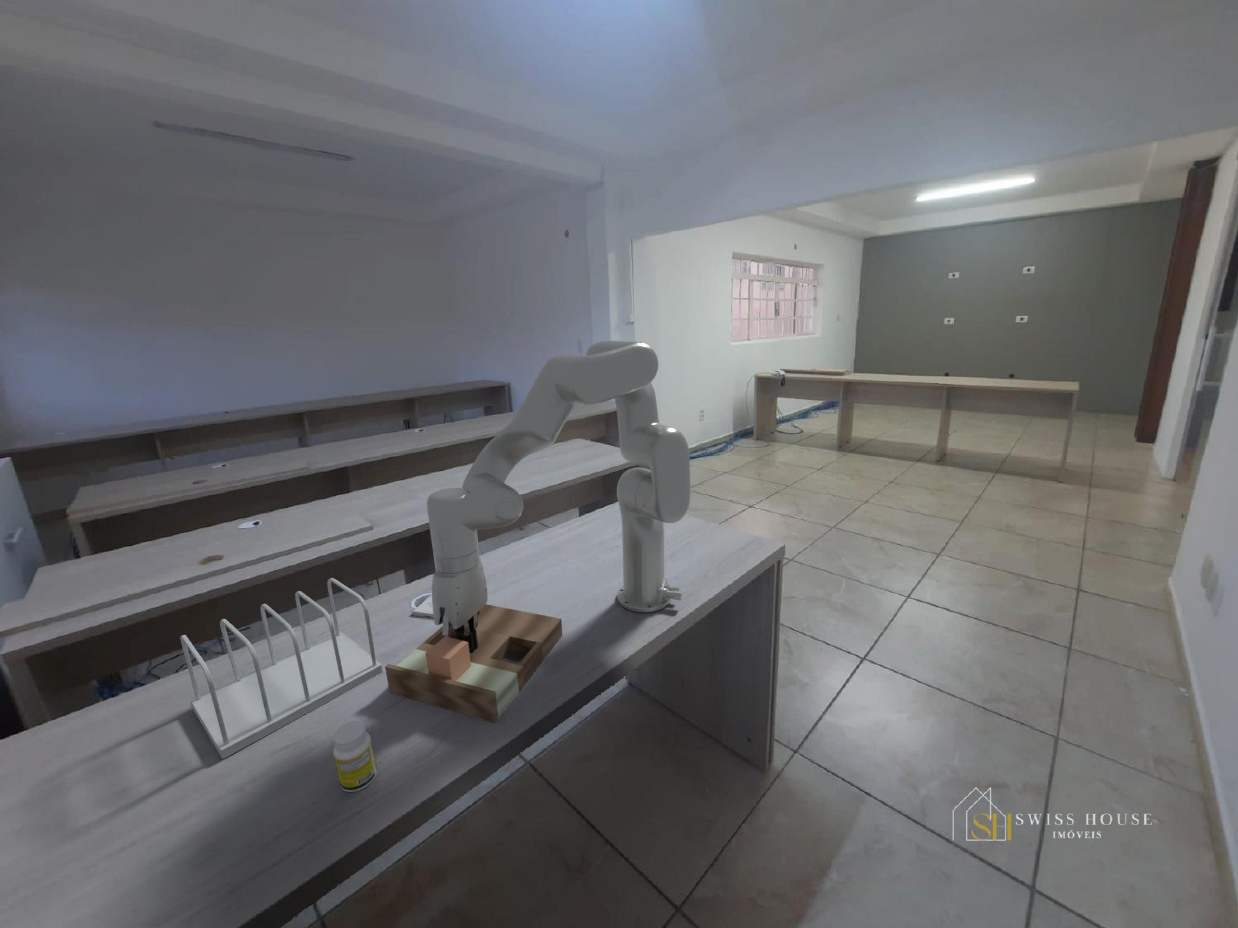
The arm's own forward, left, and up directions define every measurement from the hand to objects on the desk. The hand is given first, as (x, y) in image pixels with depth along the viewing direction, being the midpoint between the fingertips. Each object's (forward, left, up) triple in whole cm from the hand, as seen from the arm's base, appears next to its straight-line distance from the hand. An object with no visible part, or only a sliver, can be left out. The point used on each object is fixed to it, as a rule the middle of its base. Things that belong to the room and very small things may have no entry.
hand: (468, 649), depth 91 cm
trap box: (0, -4, -5) cm, 7 cm away
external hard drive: (+21, -19, -6) cm, 29 cm away
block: (0, +5, -1) cm, 5 cm away
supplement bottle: (+2, +24, -6) cm, 25 cm away
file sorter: (+29, +14, -6) cm, 32 cm away
